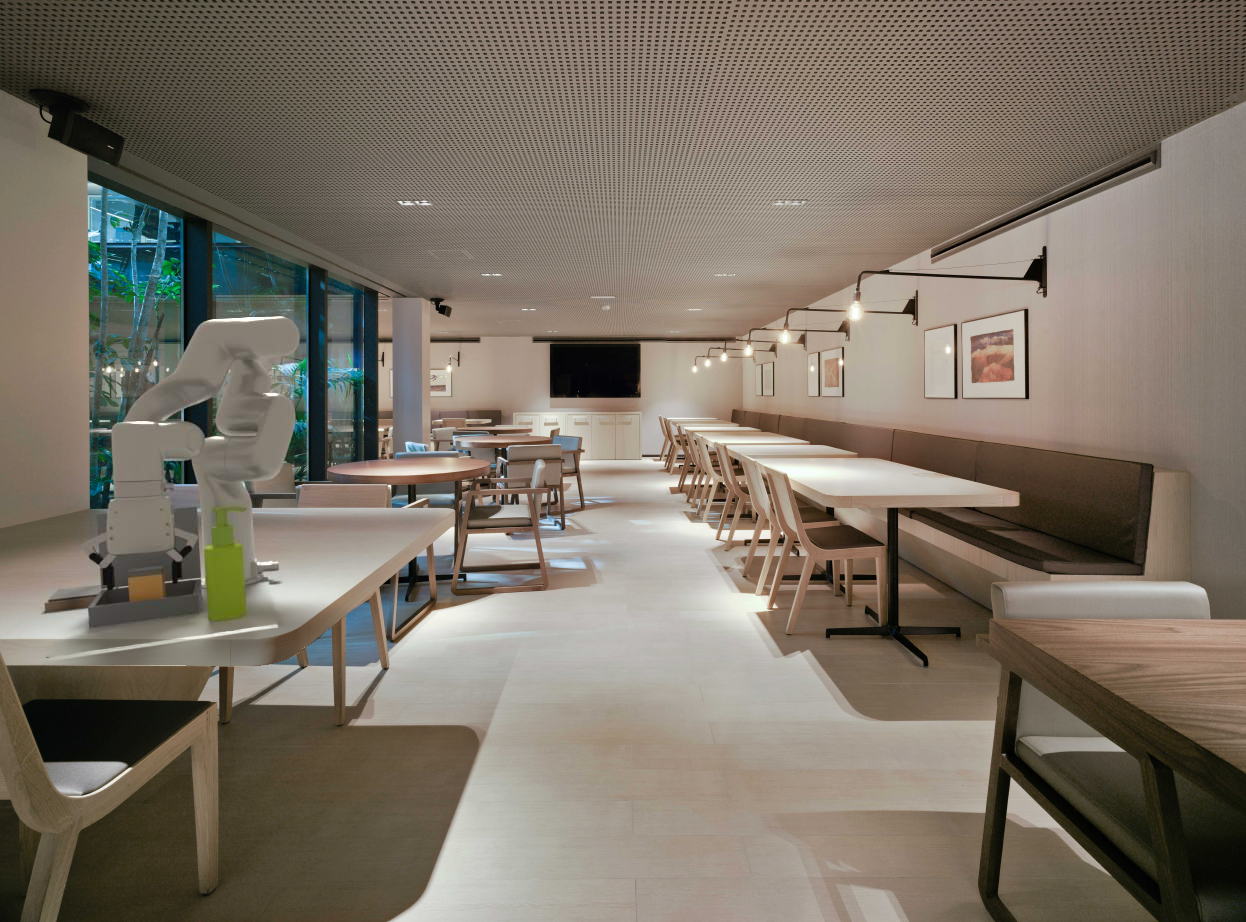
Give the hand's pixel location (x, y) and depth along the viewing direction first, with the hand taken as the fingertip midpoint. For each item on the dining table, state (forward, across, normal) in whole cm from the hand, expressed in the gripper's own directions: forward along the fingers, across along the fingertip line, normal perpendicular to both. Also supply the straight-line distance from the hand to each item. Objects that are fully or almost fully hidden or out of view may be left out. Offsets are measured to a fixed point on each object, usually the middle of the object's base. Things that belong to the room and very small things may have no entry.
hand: (143, 585), depth 128 cm
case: (+6, -1, -2) cm, 6 cm away
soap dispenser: (+6, -14, +10) cm, 18 cm away
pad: (+6, +11, -17) cm, 22 cm away
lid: (-6, 0, -10) cm, 11 cm away
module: (+5, -1, -1) cm, 5 cm away
